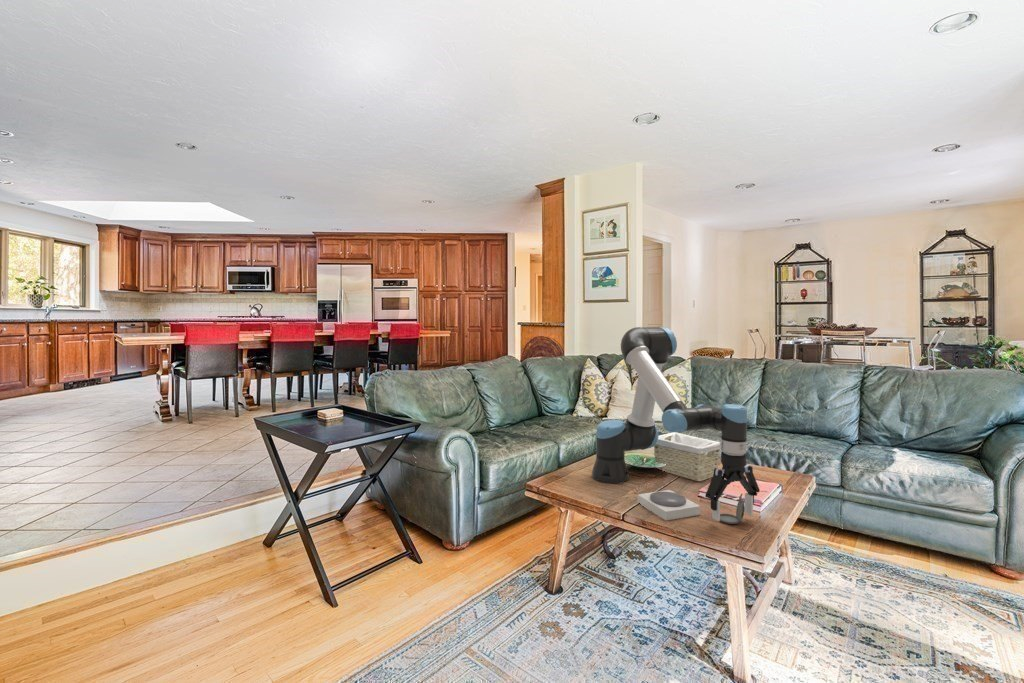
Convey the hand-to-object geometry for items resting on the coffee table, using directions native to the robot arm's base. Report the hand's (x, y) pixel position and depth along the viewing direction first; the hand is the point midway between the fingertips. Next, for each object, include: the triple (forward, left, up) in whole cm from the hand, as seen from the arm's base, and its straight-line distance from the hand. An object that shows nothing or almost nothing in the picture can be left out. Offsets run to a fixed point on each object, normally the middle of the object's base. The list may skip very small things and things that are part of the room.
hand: (732, 516), depth 152 cm
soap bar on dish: (-16, -13, -2) cm, 21 cm away
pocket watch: (0, 0, -2) cm, 2 cm away
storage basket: (-46, +19, -2) cm, 49 cm away
